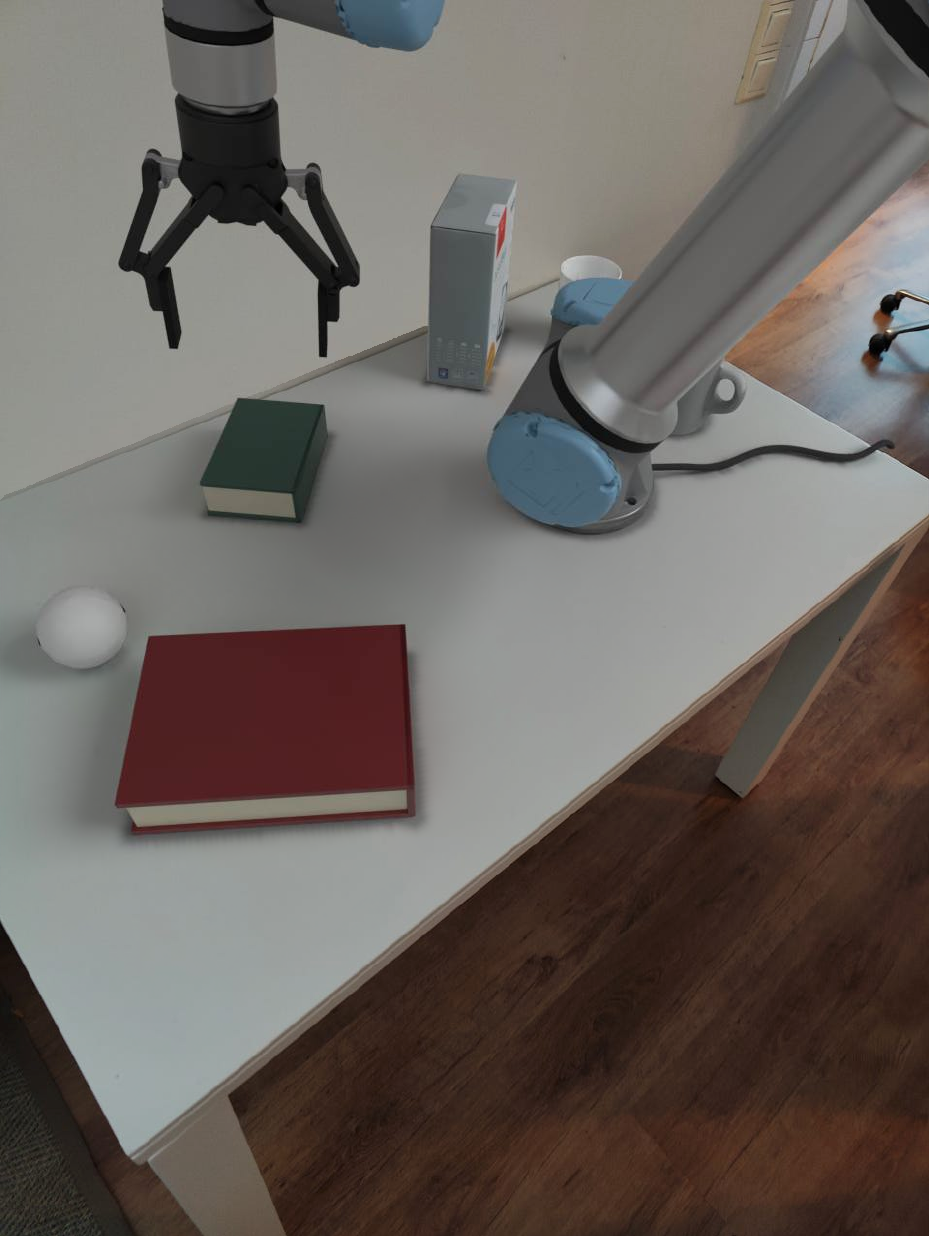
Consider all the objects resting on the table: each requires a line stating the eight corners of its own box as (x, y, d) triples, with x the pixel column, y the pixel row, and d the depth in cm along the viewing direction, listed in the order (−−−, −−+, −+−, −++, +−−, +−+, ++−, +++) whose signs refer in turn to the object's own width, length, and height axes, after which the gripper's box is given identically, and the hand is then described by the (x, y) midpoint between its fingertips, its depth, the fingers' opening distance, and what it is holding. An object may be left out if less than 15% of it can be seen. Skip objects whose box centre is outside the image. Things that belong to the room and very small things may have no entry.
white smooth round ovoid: (155, 646, 76) (133, 592, 70) (88, 699, 72) (59, 646, 66) (84, 597, 79) (58, 542, 74) (17, 645, 75) (-16, 591, 70)
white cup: (548, 352, 110) (557, 280, 103) (554, 322, 115) (563, 252, 108) (607, 359, 110) (620, 288, 102) (610, 328, 115) (623, 258, 107)
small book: (328, 436, 97) (324, 404, 93) (301, 523, 87) (295, 490, 84) (244, 429, 97) (237, 397, 94) (208, 515, 87) (199, 482, 84)
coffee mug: (610, 411, 102) (625, 338, 94) (654, 379, 107) (671, 307, 100) (703, 459, 97) (727, 385, 89) (744, 422, 102) (770, 350, 94)
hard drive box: (485, 393, 104) (495, 234, 89) (426, 384, 105) (426, 225, 89) (505, 329, 114) (518, 177, 98) (451, 322, 114) (455, 170, 99)
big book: (406, 658, 76) (405, 623, 72) (415, 816, 66) (415, 785, 62) (162, 670, 74) (148, 635, 70) (132, 835, 64) (114, 805, 60)
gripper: (392, 91, 65) (382, 330, 82) (60, 57, 62) (119, 314, 78) (395, 131, 60) (383, 375, 77) (35, 97, 57) (103, 360, 73)
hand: (250, 345), depth 78 cm, fingers open, 13 cm apart
